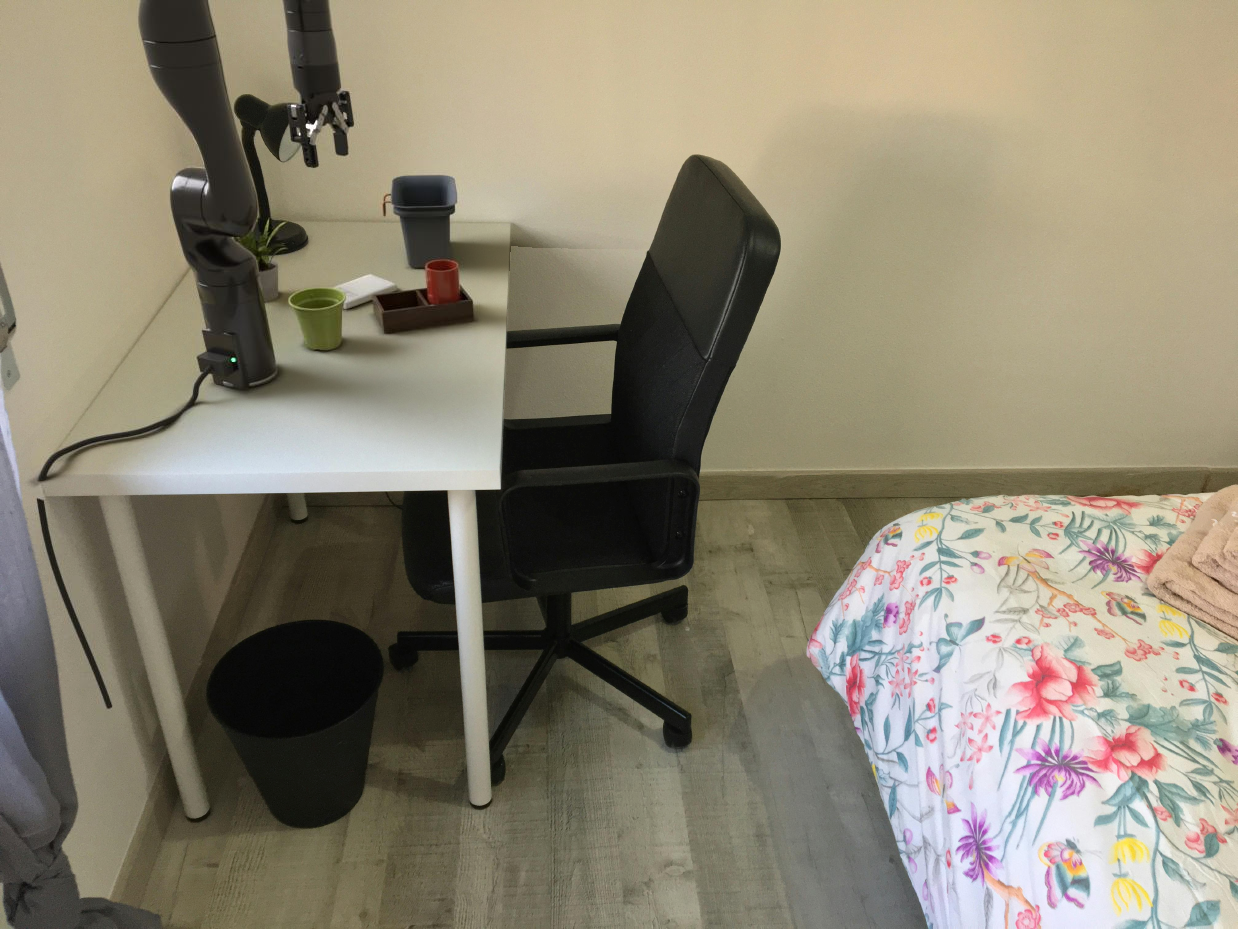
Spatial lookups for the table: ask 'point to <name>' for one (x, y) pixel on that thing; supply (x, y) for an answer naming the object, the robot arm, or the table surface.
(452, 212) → the storage bin
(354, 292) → the hard drive
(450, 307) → the caddy
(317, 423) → the table surface
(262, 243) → the house plant
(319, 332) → the plant pot
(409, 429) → the table surface
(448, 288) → the cup
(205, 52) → the robot arm
